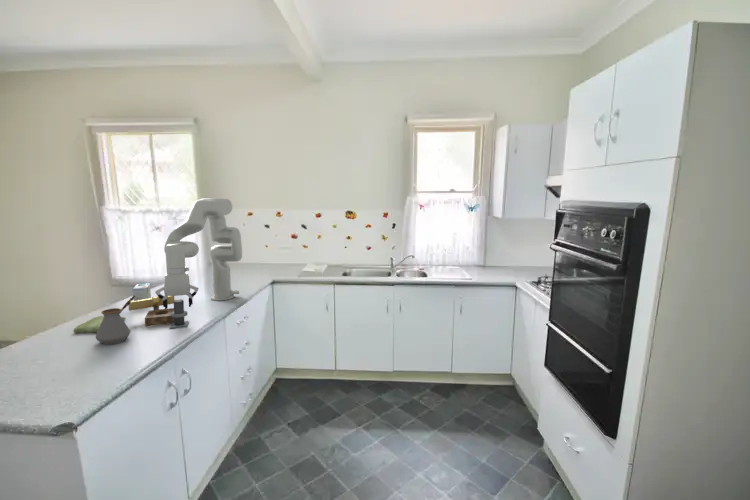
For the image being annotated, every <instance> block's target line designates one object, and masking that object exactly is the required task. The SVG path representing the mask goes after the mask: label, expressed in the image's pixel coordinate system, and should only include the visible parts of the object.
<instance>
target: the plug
mask: <svg viewBox="0 0 750 500" xmlns="http://www.w3.org/2000/svg"><path fill="white" fill-rule="evenodd" d="M174 300H175V301H174V304H173V308H174V312H172V313H171V317H173V318H174V320H175V325H177V326H179V325H183V324H185V322H184V321H185V317H187V316H188V311H187V310H185V306H184V305H185V304H184V299H182V298H177V299H174Z"/></svg>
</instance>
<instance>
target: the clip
mask: <svg viewBox="0 0 750 500" xmlns="http://www.w3.org/2000/svg"><path fill="white" fill-rule="evenodd" d="M166 299H167V304H168V305H172V304H173V305H174V301H175V300H176V299H175V296H168V297H167V298H166ZM158 306H159V307H160V306H161V307H162V306H163V301H162V299H160V298H159V297H158V296H153V297H152V296H151V299H144V300H137V301H134V300H132V301H131V302H130V304H129V305H128V306H127V307H128V311H129V312H131V311H136V310H137V311H138V310H142V309H149V308H153V307H158Z"/></svg>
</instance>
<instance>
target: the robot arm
mask: <svg viewBox="0 0 750 500" xmlns="http://www.w3.org/2000/svg"><path fill="white" fill-rule="evenodd" d="M232 210H233V203H232V201H231V200H230V199H228V198H212V197H210V198H209V197H207V198H206V197H205V198H200V199H197V200H195V201H193V203H192V206H191V207H190V209H189V213H188V215H187V217H186V219H185V221H184V222H183V223H181V224H180V225H178V226H177V227H176V228H174V229H173V230H172V231H171V232H170V233H169V235H168V236H167V239H166V241H165V244H164V247H163V249H164V253H165V265H166V266H165V267H166V273H165V275H164V279H163V280H164V282H163V284H164V286H162V287H160V288H158V289H157V290H155V291H154V292H155V294H156V297H159V298H160V299H162V301H163V305H162V306H163V307H162V308H164V309H168V307H169V306H168V305H169V304H167V299H166V298H167V297H168V296H174V297H176V296H177V297H178V296H187V297H188V307H189V308H191V306H192V305H193V304H194V302H193V298H194V296H196V294H197V293H198V291H199V287H197V286H194V285H192V284H190V283H191V282H190V276H189V271H190V267H186V258H194V257H197V255H198V253H199V251H200V249H199V245H198V244H197V243H196V242H193V241H183V240H182V239H184V238H186V237H188V236H191V235H194V234H197V233H200V232H201V231H202V230H203V229H204V227H205V225H206V223H207V220H208V221H209V230H210V236H211V237H210V238H211V241H212V243H215V244H216V245H214V246H212V247H211V248H210V250H209V257H210V260H211V266H212V282H213V283H212V286H213V287H212V288H213V291H212V292H213V293H212V295H211V296H210V299H211V300H212V301H218V302H219V301H228V300H231V299H233V298H234V297H235V295H239V294H240V290H237V289H236V290H233V289H232V287H231V286H232V285H231V284H232V282H231V266H230V265H229V264H228V262H229V263H230V262H231V263H232V262H234V263H235V262H236V263H237V262H240V261H241V260H242V258H243V246H242V236H241V232H240V230H239V228H237V227H231V226H227V221H226V216H227V215H229V214H231V212H232ZM229 244H230V245H229ZM187 271H188V272H187ZM191 289H192V290H194V291H193V292H192V293H191ZM163 291H164V292H163ZM161 292H163V293H164V295H163V294H162V293H161Z"/></svg>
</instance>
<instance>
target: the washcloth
mask: <svg viewBox="0 0 750 500" xmlns="http://www.w3.org/2000/svg"><path fill="white" fill-rule="evenodd" d="M121 317H122V319H123V320H124V321H125V320H126V319H127V318H126V317H125V316H121ZM103 318H104V315H99V316H96V317H93V318H90V319H88V320H87V321H85V322H83V323H81V324H79V325H77V326H75V327H74V328H73V332H74V333H75V334H81V333H82V334H86V333H90V334H91V333H92V334H95V333H96V334H97V332H98V330H99V327H100V325H101V322H102V320H103Z"/></svg>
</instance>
